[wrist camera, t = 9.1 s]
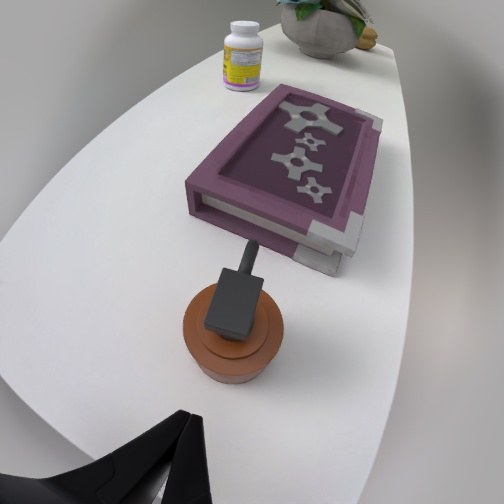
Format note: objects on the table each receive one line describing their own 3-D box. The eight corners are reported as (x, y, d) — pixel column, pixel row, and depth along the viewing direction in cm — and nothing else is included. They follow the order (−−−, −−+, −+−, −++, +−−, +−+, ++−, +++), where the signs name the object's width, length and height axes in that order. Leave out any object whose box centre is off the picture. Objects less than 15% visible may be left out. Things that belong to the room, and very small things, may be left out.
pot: (345, 46, 71) (351, 21, 63) (338, 38, 78) (343, 15, 69) (377, 55, 72) (384, 32, 63) (368, 46, 78) (374, 24, 69)
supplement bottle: (228, 76, 48) (230, 18, 37) (261, 80, 48) (268, 21, 37) (218, 90, 45) (220, 25, 34) (255, 94, 44) (261, 28, 33)
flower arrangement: (359, 81, 54) (385, -7, 33) (257, 55, 57) (267, -33, 36) (360, 56, 67) (377, -9, 46) (281, 36, 69) (291, -30, 49)
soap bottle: (259, 393, 21) (273, 385, 15) (183, 370, 21) (163, 352, 15) (278, 321, 24) (297, 285, 18) (207, 301, 25) (200, 259, 18)
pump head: (245, 345, 15) (247, 336, 13) (205, 333, 15) (202, 323, 13) (270, 257, 17) (274, 241, 16) (235, 248, 18) (236, 231, 16)
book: (336, 278, 27) (355, 251, 22) (188, 215, 29) (183, 181, 25) (372, 144, 39) (383, 119, 35) (277, 109, 42) (281, 82, 38)
